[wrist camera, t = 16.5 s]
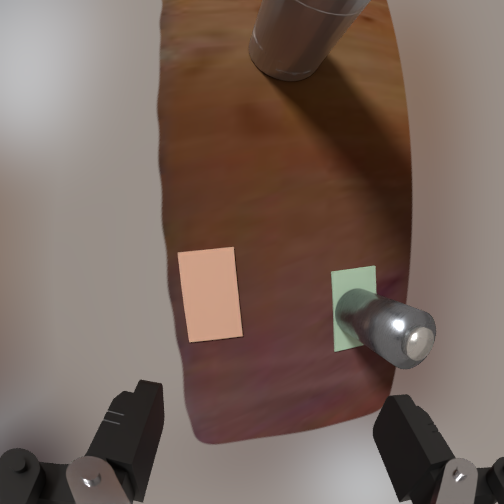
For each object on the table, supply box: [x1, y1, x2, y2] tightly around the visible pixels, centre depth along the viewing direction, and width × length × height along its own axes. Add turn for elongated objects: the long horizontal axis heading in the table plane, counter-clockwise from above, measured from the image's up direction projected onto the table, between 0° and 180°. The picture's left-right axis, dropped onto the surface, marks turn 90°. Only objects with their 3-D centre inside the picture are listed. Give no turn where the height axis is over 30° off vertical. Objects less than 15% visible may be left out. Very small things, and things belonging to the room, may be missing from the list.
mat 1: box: [178, 247, 243, 342], centre depth 34 cm, size 10×6×1 cm, turn 5°
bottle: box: [335, 288, 436, 369], centre depth 30 cm, size 6×6×13 cm
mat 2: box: [331, 266, 376, 352], centre depth 36 cm, size 10×6×1 cm, turn 6°
